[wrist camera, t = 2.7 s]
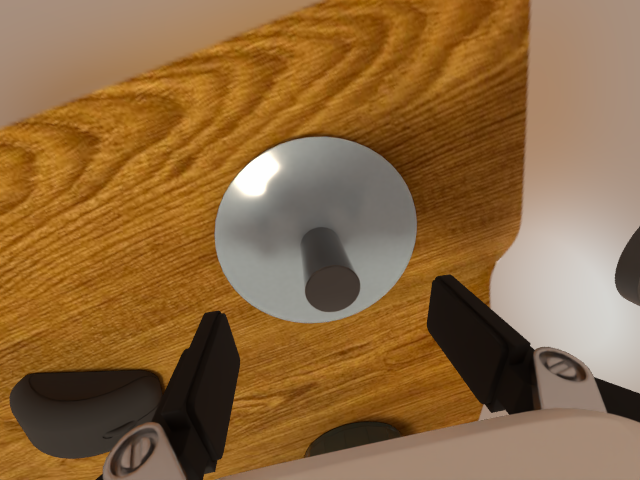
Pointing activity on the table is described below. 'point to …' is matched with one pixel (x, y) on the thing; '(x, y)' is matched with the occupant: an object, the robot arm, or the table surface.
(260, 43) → the table surface
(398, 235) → the lid
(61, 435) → the computer mouse
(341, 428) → the tin
